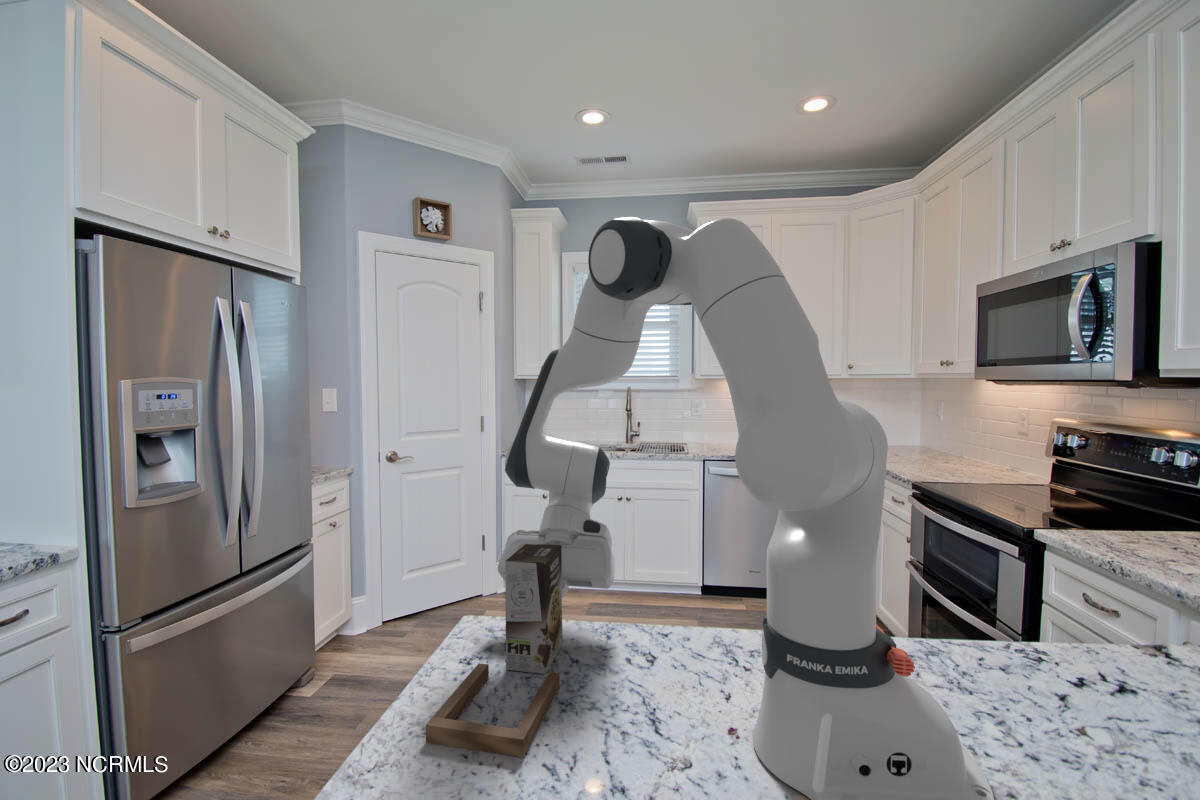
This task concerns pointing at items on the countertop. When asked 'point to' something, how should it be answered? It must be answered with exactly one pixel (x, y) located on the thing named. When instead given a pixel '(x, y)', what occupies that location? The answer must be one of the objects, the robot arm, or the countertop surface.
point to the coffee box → (533, 607)
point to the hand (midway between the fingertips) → (547, 608)
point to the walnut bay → (489, 737)
